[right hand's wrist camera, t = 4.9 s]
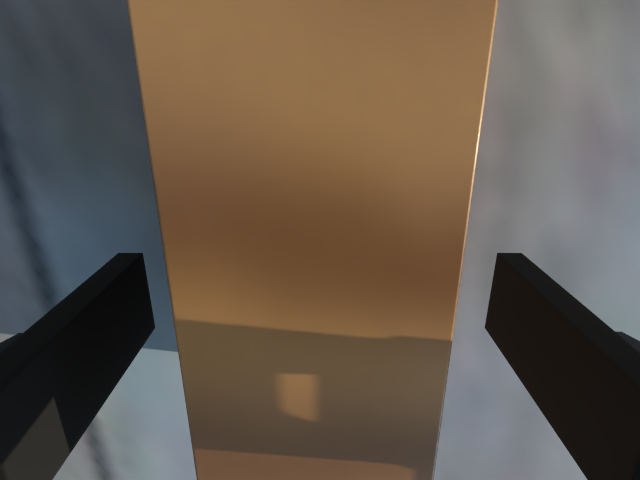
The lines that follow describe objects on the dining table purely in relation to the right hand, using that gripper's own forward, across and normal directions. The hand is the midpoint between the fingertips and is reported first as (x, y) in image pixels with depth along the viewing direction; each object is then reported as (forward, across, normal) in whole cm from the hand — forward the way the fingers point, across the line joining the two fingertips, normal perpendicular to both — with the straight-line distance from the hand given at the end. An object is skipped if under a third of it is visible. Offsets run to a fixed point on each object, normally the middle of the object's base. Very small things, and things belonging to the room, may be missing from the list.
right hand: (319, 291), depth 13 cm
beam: (+2, 0, -21) cm, 21 cm away
